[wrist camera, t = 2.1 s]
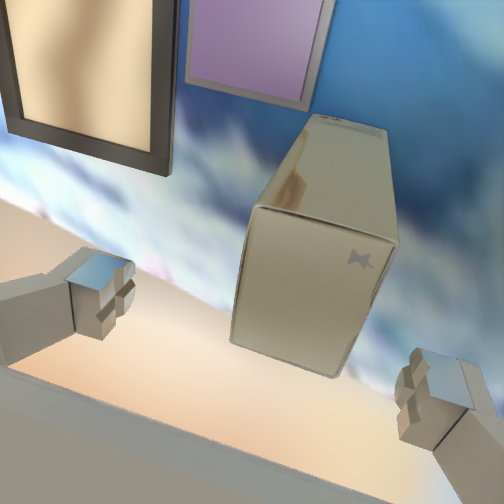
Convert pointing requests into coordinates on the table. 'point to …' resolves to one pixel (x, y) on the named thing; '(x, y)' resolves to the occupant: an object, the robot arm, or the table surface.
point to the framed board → (92, 76)
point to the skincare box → (317, 247)
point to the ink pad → (259, 48)
